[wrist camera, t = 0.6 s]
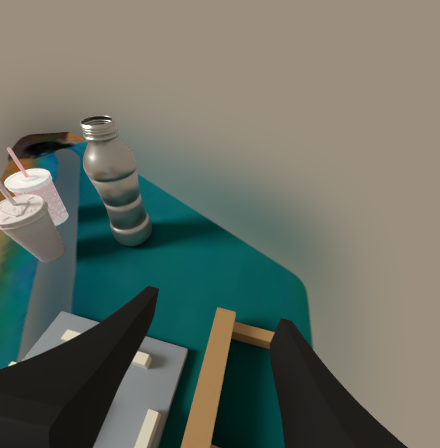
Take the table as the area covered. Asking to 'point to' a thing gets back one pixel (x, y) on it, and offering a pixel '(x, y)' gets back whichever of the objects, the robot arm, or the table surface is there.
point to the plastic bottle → (115, 180)
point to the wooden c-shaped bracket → (217, 375)
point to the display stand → (129, 386)
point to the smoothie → (30, 225)
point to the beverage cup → (37, 188)
